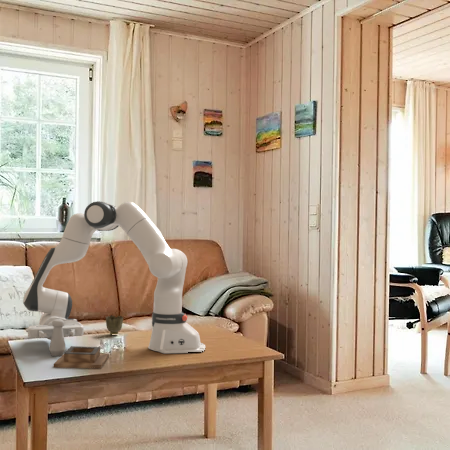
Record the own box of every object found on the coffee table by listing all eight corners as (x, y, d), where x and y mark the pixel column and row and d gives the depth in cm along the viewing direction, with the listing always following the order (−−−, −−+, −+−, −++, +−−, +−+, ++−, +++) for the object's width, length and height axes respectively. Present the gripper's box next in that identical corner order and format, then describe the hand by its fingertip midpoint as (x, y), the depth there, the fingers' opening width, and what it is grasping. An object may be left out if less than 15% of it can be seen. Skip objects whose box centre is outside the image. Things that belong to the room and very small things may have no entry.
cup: (124, 333, 255) (125, 315, 255) (120, 337, 248) (120, 318, 247) (108, 333, 256) (108, 314, 255) (102, 336, 248) (103, 317, 248)
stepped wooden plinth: (108, 356, 214) (109, 345, 214) (101, 368, 198) (101, 356, 198) (64, 355, 213) (65, 344, 213) (53, 367, 197) (53, 354, 197)
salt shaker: (52, 357, 210) (53, 321, 210) (46, 354, 215) (47, 319, 214) (67, 355, 213) (68, 320, 213) (62, 352, 218) (63, 317, 218)
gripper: (25, 321, 222) (28, 327, 209) (80, 318, 230) (86, 325, 217) (25, 337, 222) (28, 345, 209) (79, 334, 230) (85, 342, 217)
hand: (58, 335), depth 213 cm, fingers open, 8 cm apart
